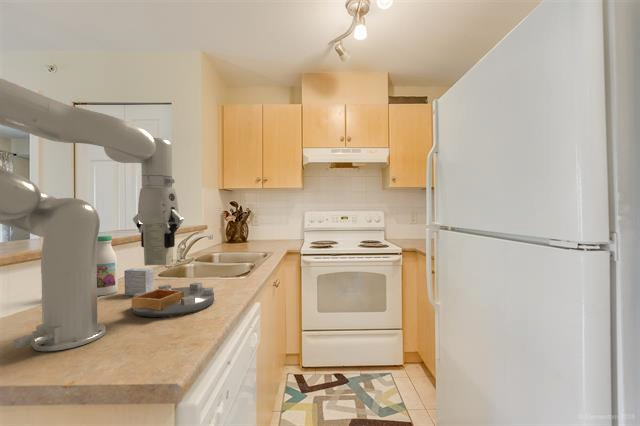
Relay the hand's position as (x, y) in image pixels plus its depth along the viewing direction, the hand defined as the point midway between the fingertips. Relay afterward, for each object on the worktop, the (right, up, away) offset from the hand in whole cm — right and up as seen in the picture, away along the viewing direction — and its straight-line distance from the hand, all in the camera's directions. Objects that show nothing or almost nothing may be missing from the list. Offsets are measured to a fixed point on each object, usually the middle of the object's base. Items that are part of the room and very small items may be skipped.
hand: (158, 246), depth 84 cm
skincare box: (0, -5, 0) cm, 5 cm away
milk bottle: (-30, -19, +20) cm, 41 cm away
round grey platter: (+2, -19, +7) cm, 20 cm away
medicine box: (-17, -19, +19) cm, 32 cm away
